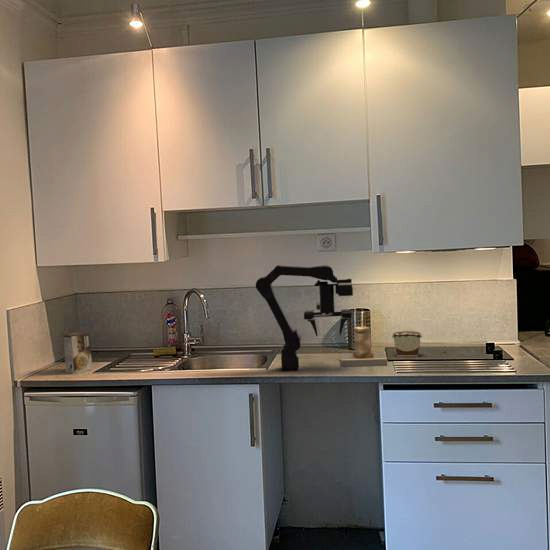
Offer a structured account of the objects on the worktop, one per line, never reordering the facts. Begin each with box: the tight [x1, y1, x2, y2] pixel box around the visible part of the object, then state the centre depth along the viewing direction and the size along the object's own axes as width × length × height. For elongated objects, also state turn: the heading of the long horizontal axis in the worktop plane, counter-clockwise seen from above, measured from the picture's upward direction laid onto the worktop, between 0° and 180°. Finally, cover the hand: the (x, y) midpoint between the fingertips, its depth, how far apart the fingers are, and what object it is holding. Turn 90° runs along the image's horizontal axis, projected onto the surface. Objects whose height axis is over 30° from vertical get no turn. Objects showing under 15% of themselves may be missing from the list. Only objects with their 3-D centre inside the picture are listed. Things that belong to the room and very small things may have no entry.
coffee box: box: [62, 331, 93, 375], centre depth 258 cm, size 9×6×16 cm
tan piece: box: [352, 325, 374, 359], centre depth 250 cm, size 6×7×12 cm
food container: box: [391, 330, 422, 355], centre depth 261 cm, size 12×6×10 cm, turn 74°
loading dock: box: [339, 352, 388, 368], centre depth 250 cm, size 18×13×3 cm
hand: (328, 335), depth 243 cm, fingers open, 9 cm apart
